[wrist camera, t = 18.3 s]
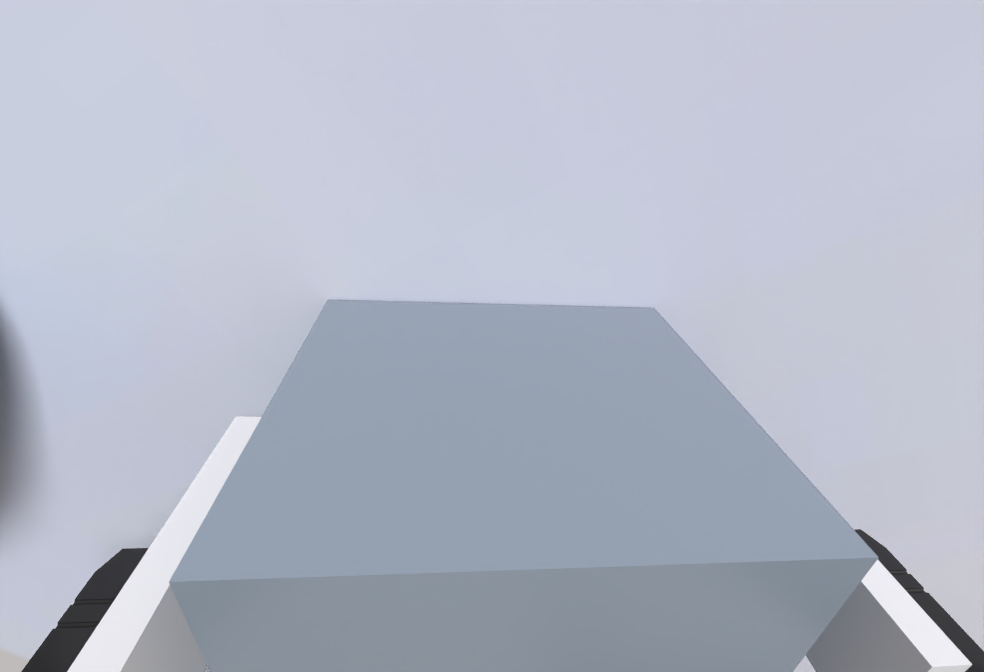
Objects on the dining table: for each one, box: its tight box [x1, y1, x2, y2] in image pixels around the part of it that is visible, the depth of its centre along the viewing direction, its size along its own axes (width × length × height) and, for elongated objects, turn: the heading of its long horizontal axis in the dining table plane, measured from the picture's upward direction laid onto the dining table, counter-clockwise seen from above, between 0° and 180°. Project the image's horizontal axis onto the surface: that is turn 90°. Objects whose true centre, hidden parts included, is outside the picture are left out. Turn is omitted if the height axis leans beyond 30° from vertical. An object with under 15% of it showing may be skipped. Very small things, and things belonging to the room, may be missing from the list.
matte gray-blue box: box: [169, 300, 879, 672], centre depth 13 cm, size 10×10×9 cm
